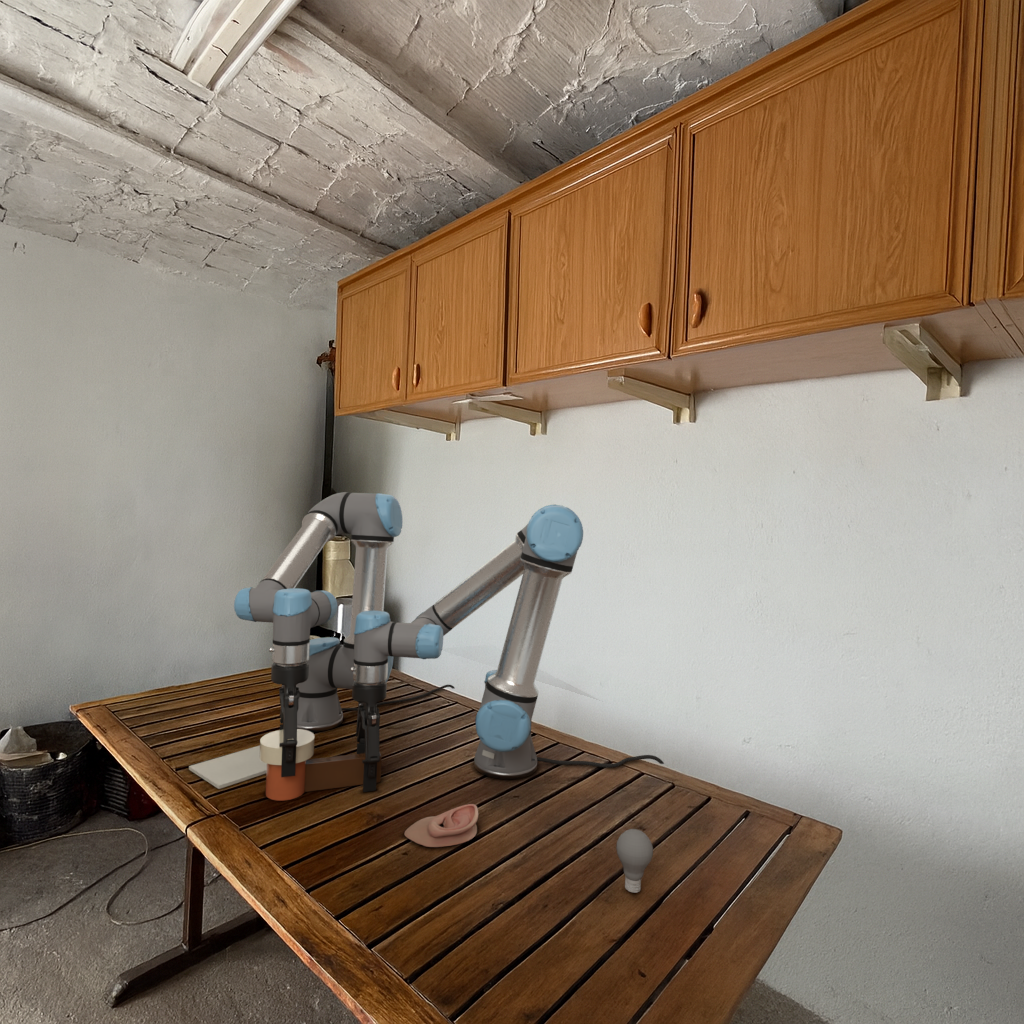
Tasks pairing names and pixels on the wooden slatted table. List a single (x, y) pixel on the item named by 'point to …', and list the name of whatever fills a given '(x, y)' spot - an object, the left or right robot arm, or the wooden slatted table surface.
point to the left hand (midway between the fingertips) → (286, 764)
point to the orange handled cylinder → (317, 776)
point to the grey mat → (231, 768)
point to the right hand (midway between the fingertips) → (365, 780)
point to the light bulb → (634, 857)
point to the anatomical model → (445, 827)
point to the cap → (273, 752)
